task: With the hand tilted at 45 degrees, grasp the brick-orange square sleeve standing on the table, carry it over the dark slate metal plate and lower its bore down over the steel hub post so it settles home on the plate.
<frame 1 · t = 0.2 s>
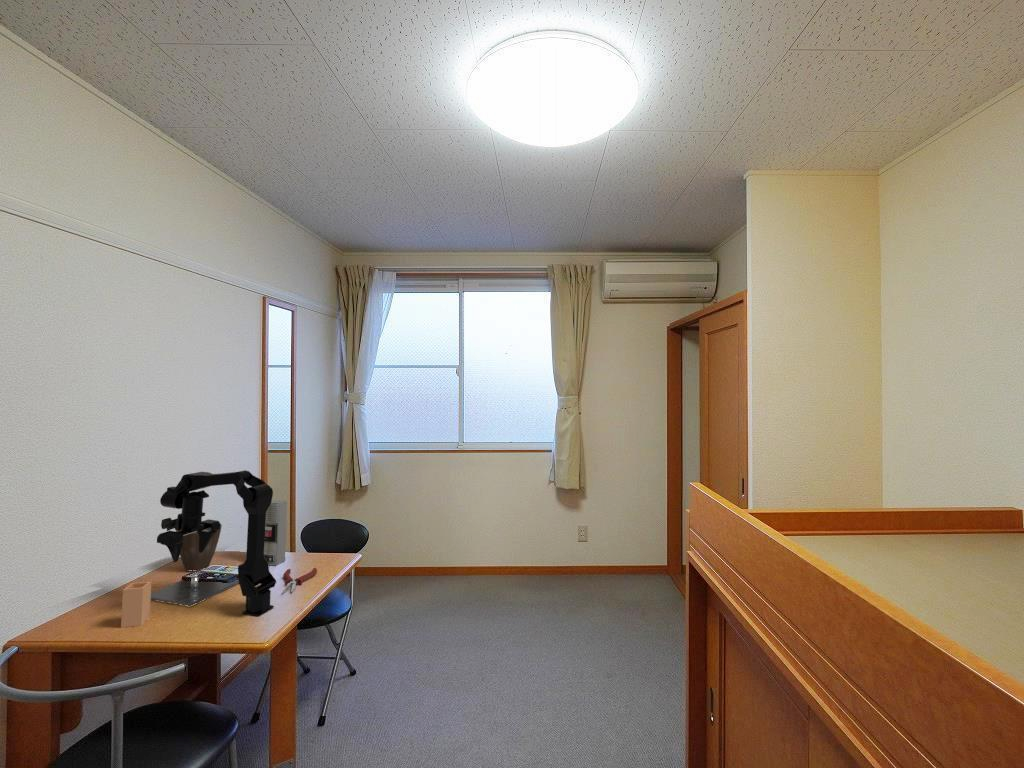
hand: (188, 557, 150), 14 cm above the table, tool pointing down, fingers open, 9 cm apart
sleeve: (135, 622, 135), on the table
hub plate: (194, 590, 158), on the table
pliers: (291, 583, 167), on the table
plant pot: (197, 568, 178), on the table
grey electrical device: (265, 562, 185), on the table
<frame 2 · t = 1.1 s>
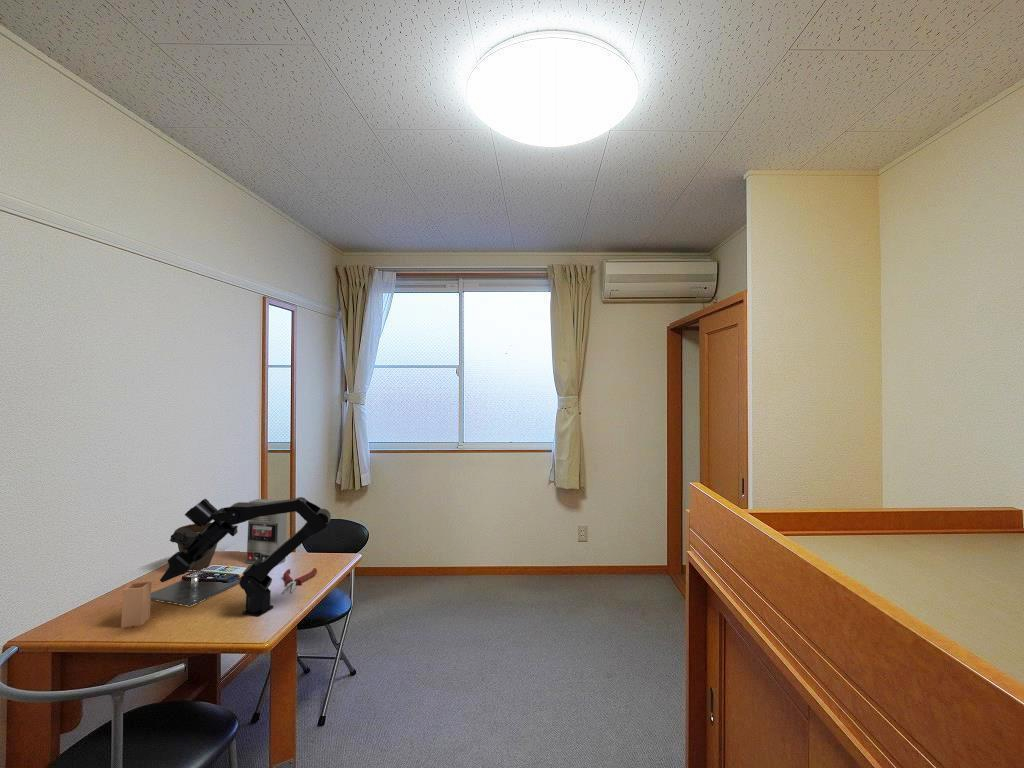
hand: (168, 575, 138), 13 cm above the table, tool tilted 45°, fingers open, 9 cm apart
nothing on the table moved.
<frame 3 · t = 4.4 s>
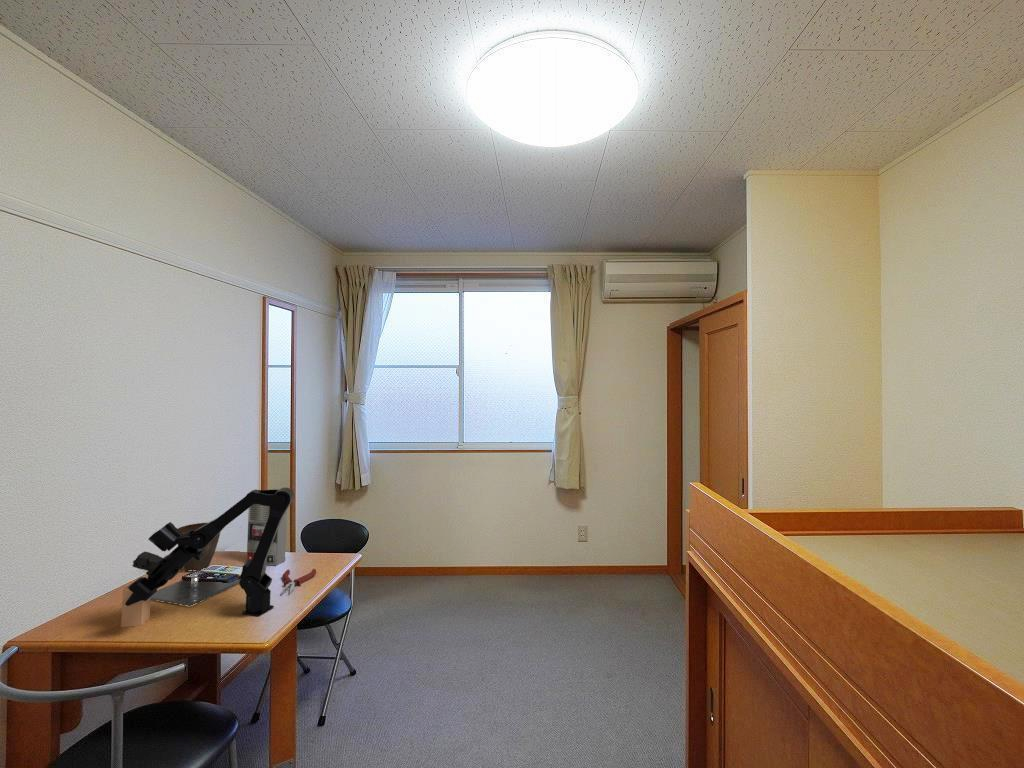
hand: (131, 600, 135), 7 cm above the table, tool tilted 45°, fingers closed on sleeve, 5 cm apart
sleeve: (135, 622, 135), on the table, touching gripper
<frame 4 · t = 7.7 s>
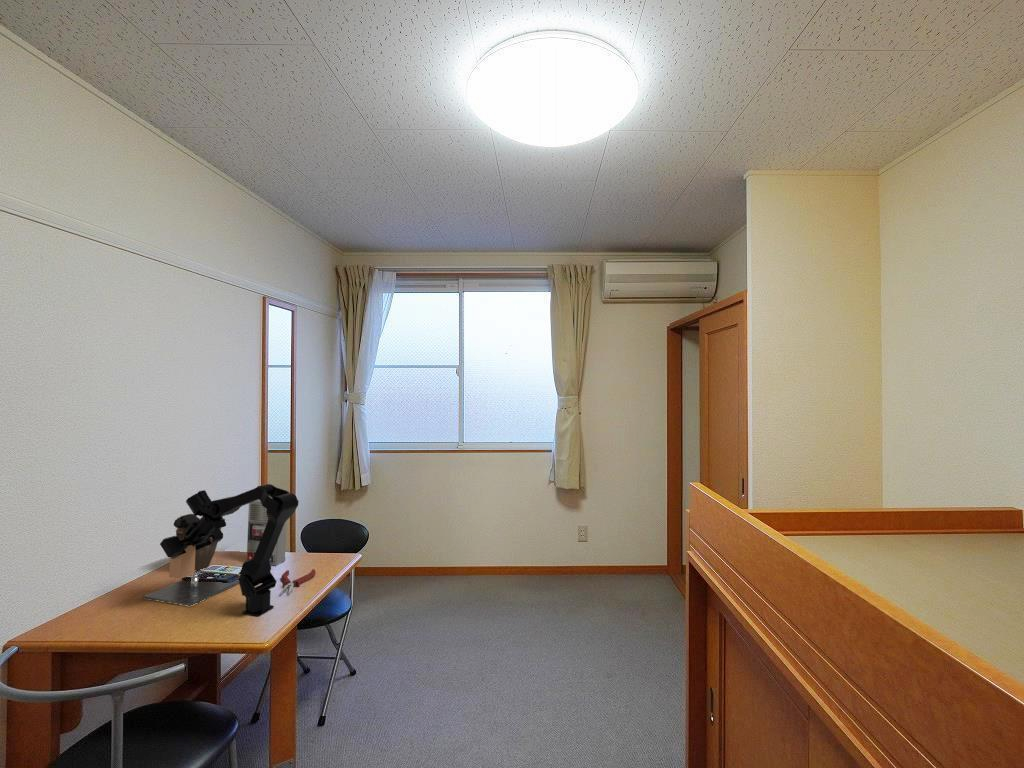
hand: (179, 555, 154), 14 cm above the table, tool tilted 45°, fingers closed on sleeve, 5 cm apart
sleeve: (181, 575, 154), point 7 cm above the table, touching gripper
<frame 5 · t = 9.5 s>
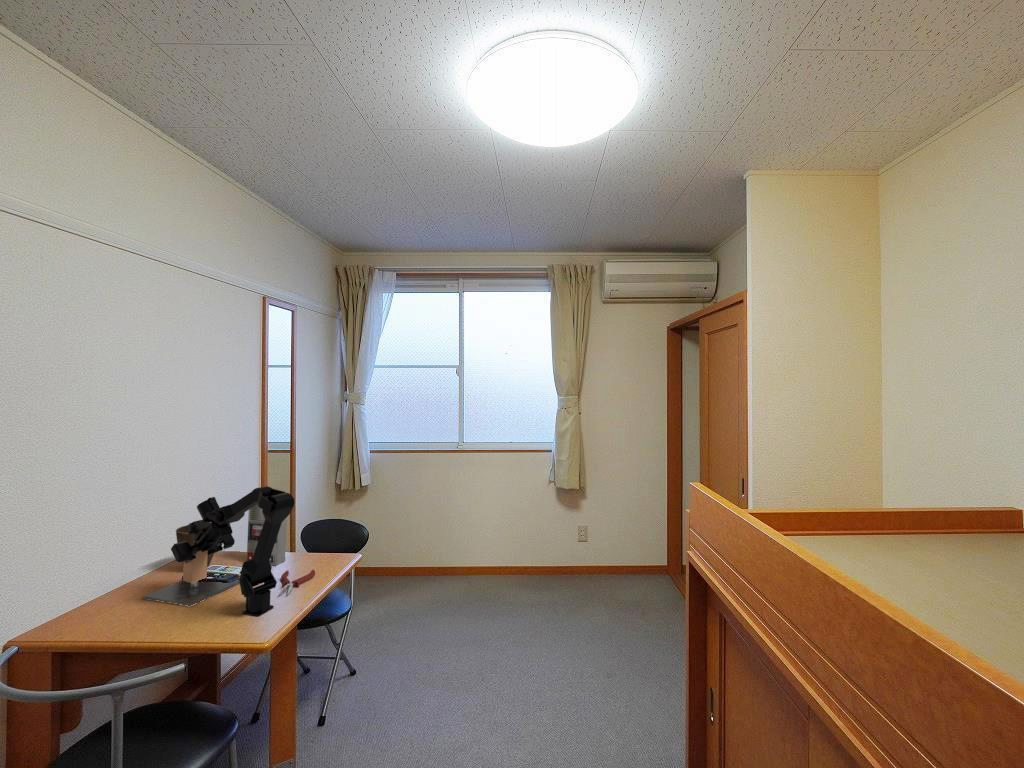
hand: (193, 559, 158), 11 cm above the table, tool tilted 45°, fingers closed on sleeve, 5 cm apart
sleeve: (194, 579, 158), point 4 cm above the table, touching gripper
when the fingers open (9 cm above the table, at t = 11.0 s): sleeve stays where it is, resting on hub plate.
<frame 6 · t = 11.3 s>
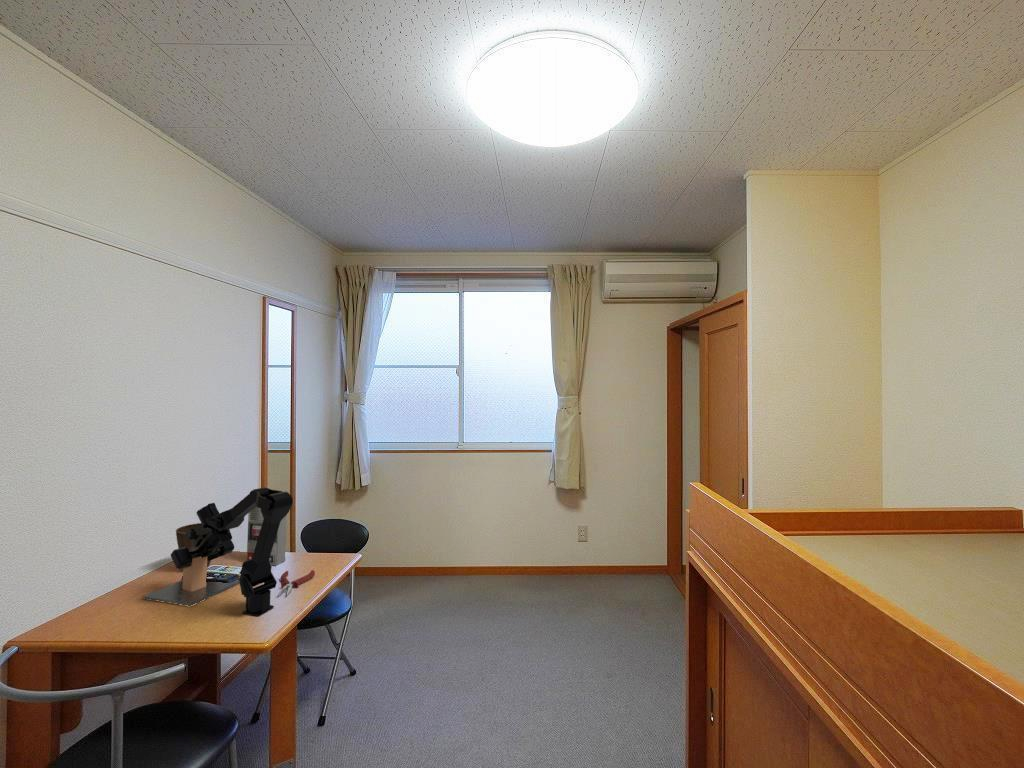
hand: (192, 565, 158), 9 cm above the table, tool tilted 45°, fingers open, 8 cm apart
sleeve: (194, 587, 158), point 1 cm above the table, touching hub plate
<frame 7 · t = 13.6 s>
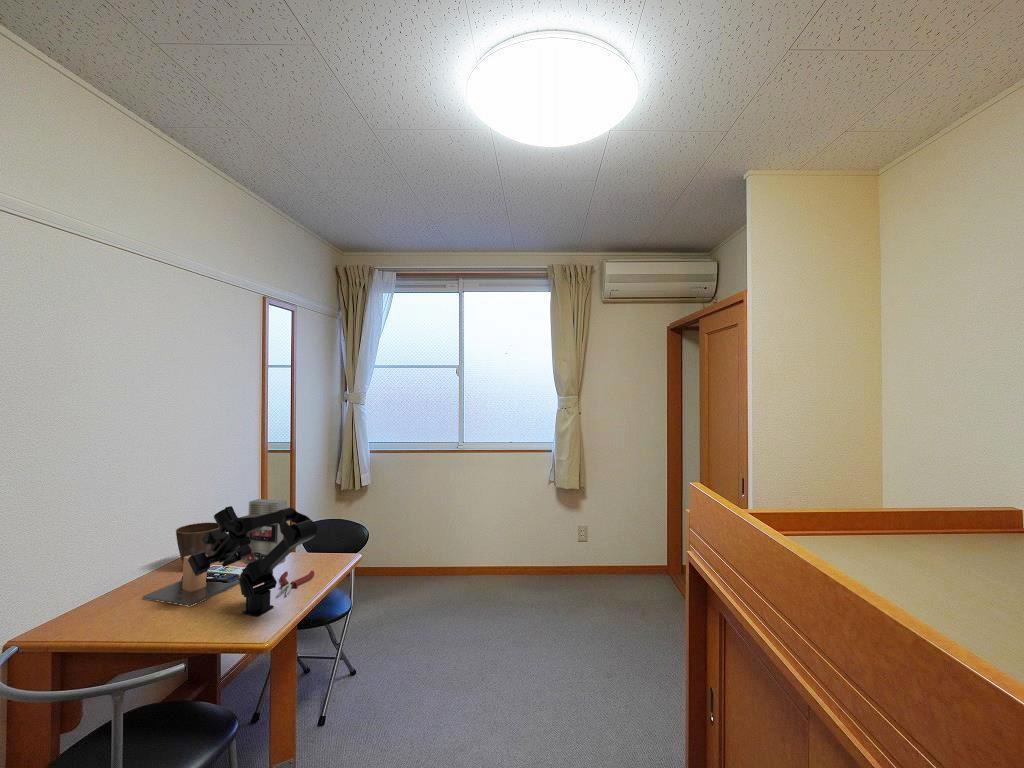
hand: (209, 570, 154), 8 cm above the table, tool tilted 45°, fingers open, 9 cm apart
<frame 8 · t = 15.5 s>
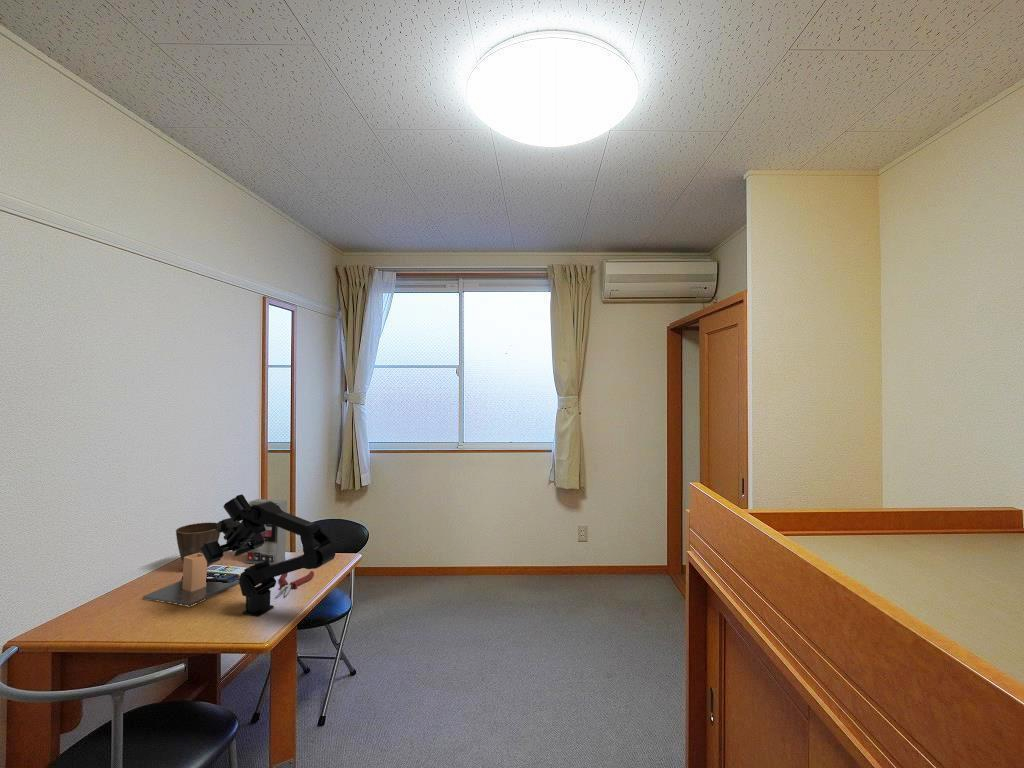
hand: (222, 559, 151), 14 cm above the table, tool tilted 45°, fingers open, 9 cm apart
at the end: sleeve 0.1 cm off-centre on the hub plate, point 1.0 cm above the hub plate's base; sleeve tilted 0°; the gripper is holding nothing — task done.
